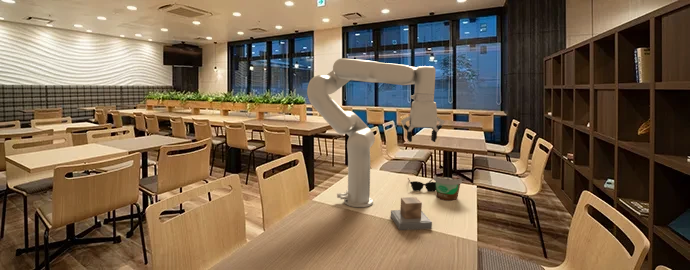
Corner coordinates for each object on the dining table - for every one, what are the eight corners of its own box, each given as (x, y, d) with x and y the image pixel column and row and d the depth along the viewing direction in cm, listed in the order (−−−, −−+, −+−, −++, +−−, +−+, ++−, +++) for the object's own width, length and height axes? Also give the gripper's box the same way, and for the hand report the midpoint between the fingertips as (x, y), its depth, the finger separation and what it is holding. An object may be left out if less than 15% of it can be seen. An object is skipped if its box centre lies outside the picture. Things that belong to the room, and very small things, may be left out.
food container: (430, 198, 148) (431, 177, 147) (433, 194, 154) (434, 174, 152) (458, 203, 143) (460, 181, 141) (460, 199, 148) (462, 178, 146)
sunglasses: (409, 191, 159) (410, 181, 159) (406, 183, 175) (406, 174, 175) (438, 192, 158) (439, 182, 158) (432, 184, 174) (432, 174, 174)
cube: (405, 219, 120) (405, 203, 119) (400, 212, 126) (400, 197, 125) (420, 218, 121) (421, 202, 120) (415, 211, 127) (416, 197, 126)
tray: (399, 230, 117) (399, 223, 116) (390, 216, 129) (390, 209, 128) (431, 228, 119) (432, 221, 118) (419, 215, 130) (420, 208, 130)
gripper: (404, 98, 124) (402, 143, 127) (449, 99, 125) (446, 143, 128) (400, 97, 131) (398, 139, 134) (441, 98, 133) (439, 139, 136)
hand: (421, 141), depth 131 cm, fingers open, 9 cm apart
